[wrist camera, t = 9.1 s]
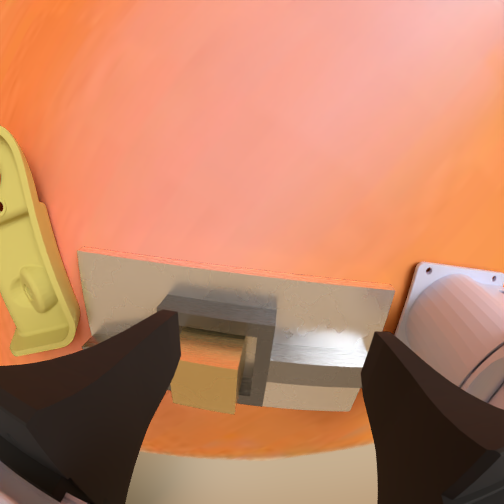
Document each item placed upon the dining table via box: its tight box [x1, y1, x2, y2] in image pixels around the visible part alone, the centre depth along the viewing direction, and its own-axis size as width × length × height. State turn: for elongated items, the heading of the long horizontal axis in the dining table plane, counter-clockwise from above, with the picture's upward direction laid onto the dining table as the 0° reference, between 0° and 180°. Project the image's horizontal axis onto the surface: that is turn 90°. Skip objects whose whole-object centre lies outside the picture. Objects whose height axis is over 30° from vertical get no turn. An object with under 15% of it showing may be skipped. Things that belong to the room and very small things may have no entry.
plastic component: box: [0, 126, 80, 356], centre depth 19 cm, size 20×7×10 cm
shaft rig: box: [77, 247, 395, 411], centre depth 20 cm, size 23×12×3 cm, turn 85°
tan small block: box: [170, 326, 247, 414], centre depth 18 cm, size 4×4×5 cm
